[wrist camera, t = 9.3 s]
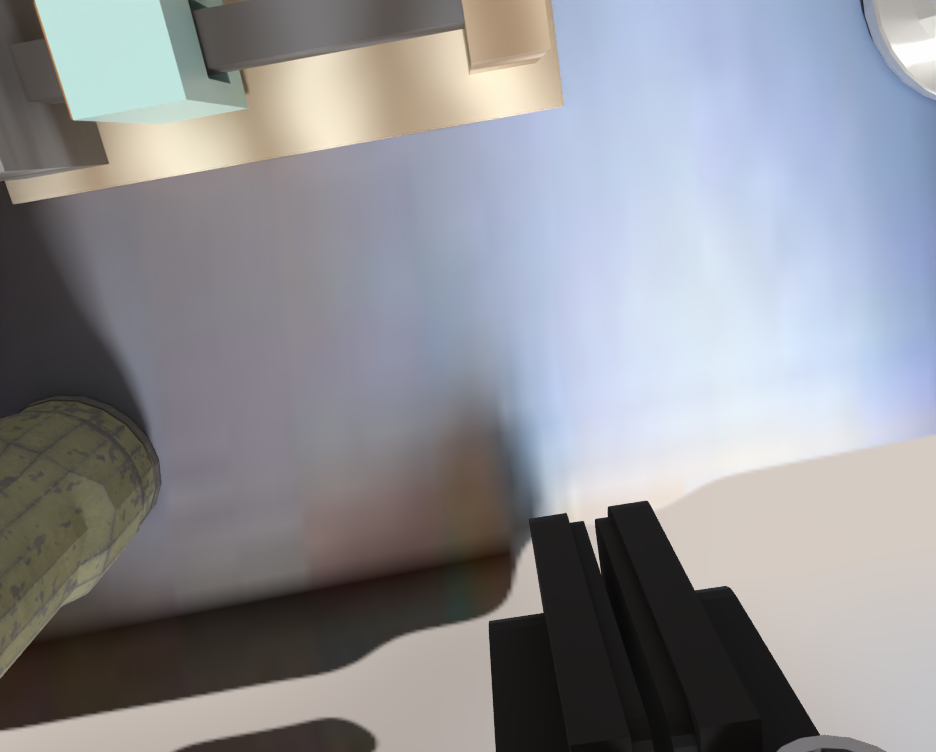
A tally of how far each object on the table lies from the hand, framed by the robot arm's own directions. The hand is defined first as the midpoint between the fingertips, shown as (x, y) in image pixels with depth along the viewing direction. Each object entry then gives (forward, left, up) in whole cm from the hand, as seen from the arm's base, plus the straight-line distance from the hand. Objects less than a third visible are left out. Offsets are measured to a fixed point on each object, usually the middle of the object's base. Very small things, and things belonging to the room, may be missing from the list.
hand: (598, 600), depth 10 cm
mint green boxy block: (+12, -12, -25) cm, 30 cm away
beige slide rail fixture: (+9, -12, -27) cm, 31 cm away
